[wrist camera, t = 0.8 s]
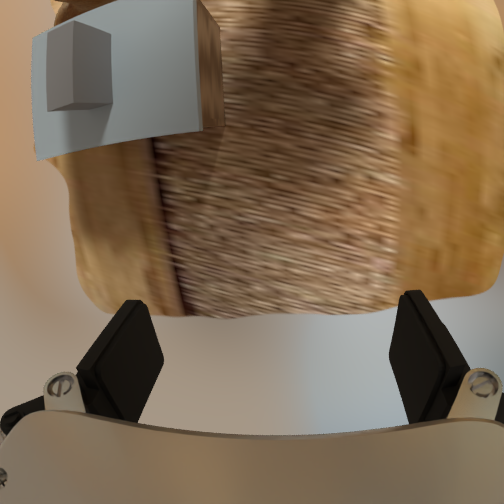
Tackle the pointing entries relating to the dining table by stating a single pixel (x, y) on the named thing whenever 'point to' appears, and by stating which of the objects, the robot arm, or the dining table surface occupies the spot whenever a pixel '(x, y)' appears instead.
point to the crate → (210, 68)
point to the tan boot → (77, 8)
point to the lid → (116, 76)
